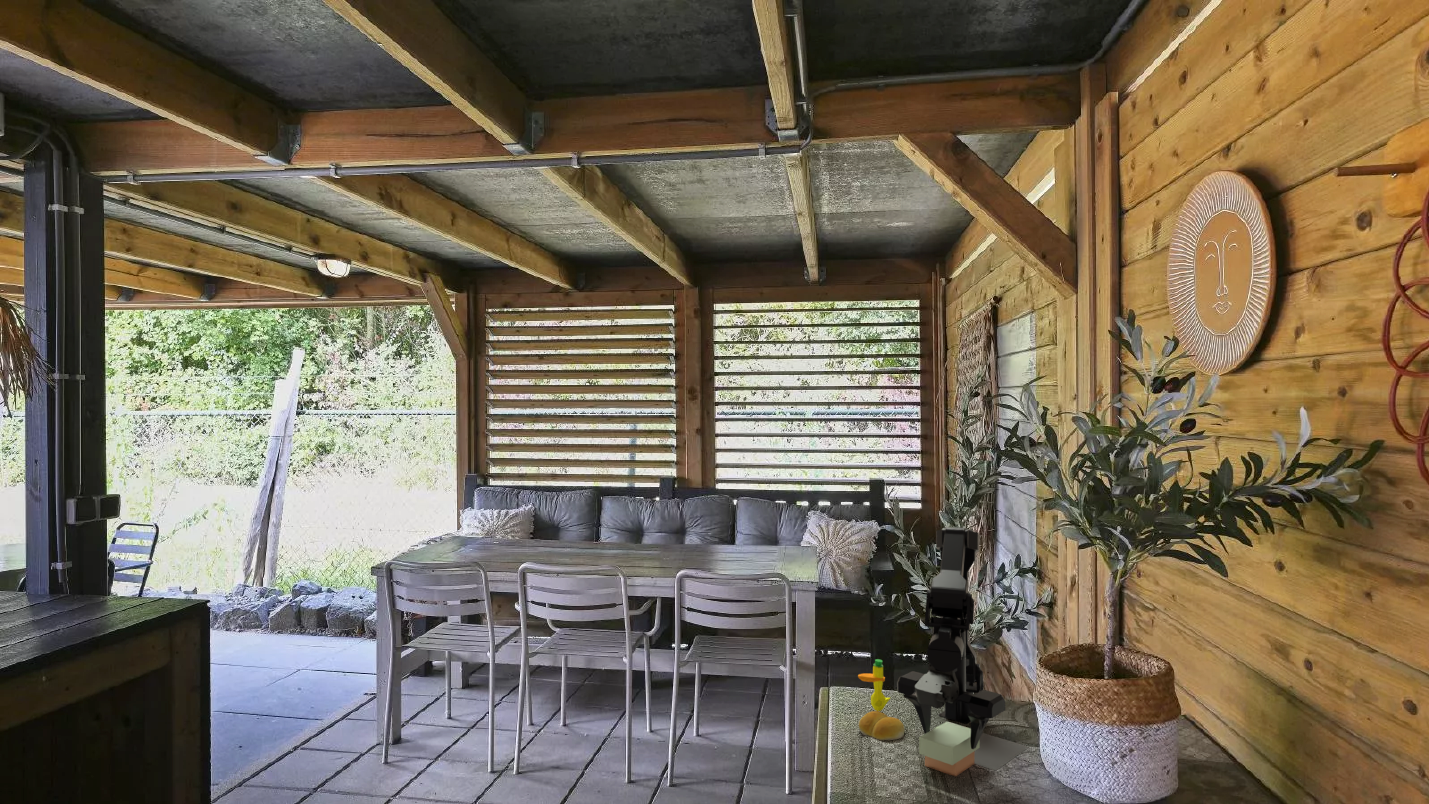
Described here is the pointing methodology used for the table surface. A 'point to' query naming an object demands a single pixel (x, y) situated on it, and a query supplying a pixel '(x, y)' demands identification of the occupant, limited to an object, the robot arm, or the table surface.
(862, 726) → the bread roll
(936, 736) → the lid
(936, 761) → the dish
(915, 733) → the table surface
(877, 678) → the toy figure
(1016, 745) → the mat
